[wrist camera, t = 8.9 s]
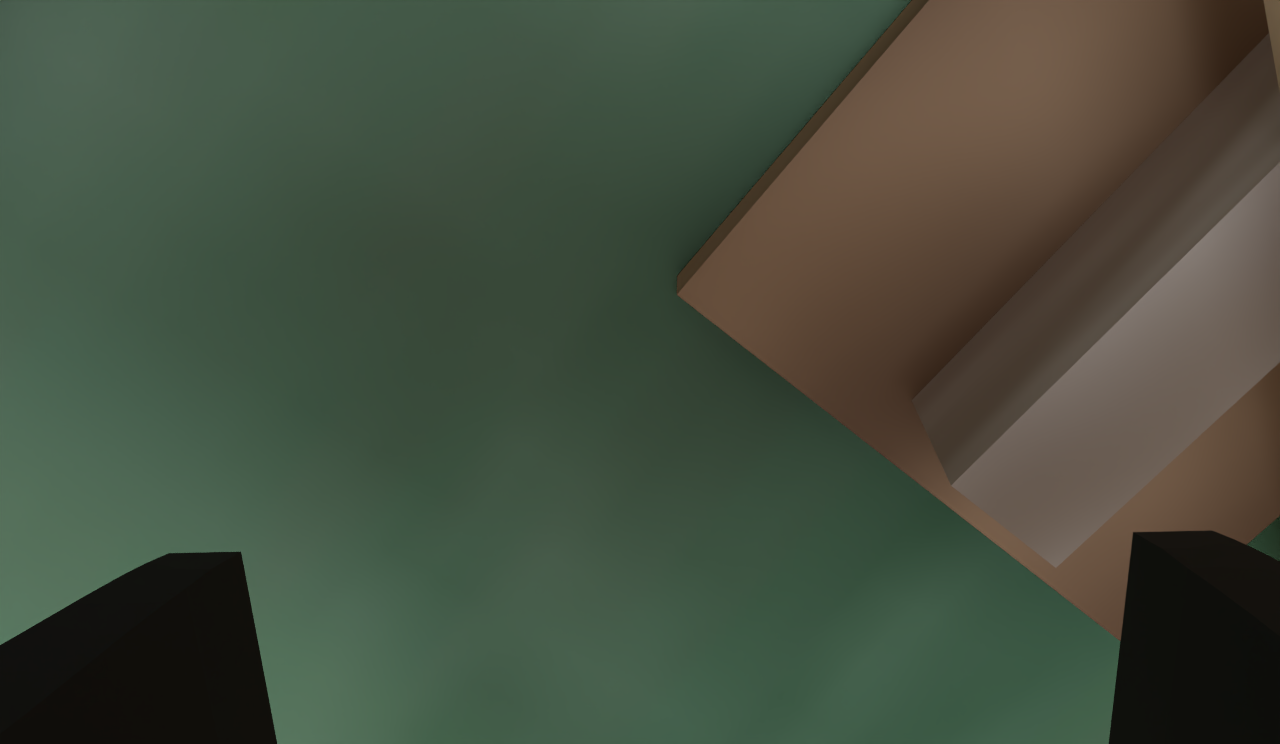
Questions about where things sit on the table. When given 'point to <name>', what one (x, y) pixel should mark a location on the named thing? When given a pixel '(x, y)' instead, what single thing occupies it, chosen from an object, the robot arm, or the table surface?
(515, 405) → the table surface
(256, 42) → the table surface
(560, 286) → the table surface
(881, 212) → the ridge stand
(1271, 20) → the maple bar
